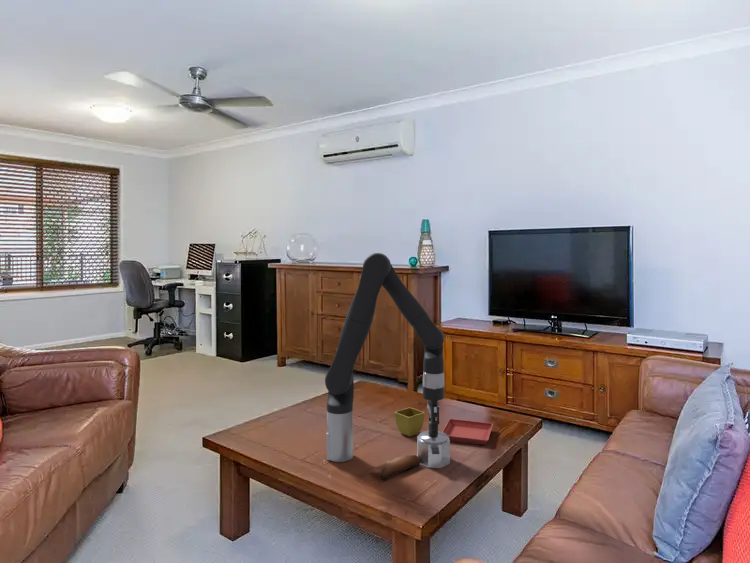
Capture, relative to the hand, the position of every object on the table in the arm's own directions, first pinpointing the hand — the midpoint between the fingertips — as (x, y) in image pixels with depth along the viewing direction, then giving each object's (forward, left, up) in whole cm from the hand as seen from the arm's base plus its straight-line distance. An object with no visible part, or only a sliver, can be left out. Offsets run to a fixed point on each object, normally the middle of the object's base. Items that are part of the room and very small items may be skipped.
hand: (433, 429), depth 175 cm
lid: (0, 0, -5) cm, 5 cm away
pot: (0, 0, -11) cm, 11 cm away
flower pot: (-7, +25, -11) cm, 28 cm away
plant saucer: (+16, +23, -12) cm, 30 cm away
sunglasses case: (-14, -7, -12) cm, 20 cm away
